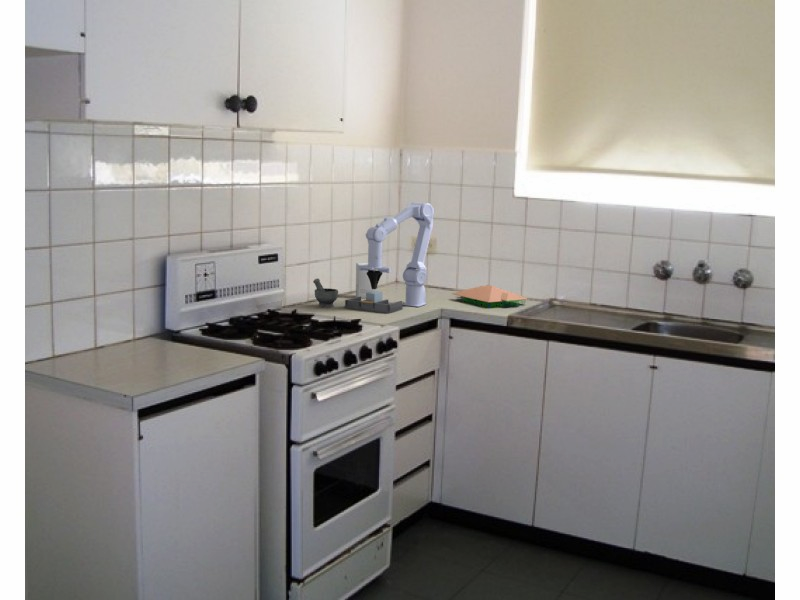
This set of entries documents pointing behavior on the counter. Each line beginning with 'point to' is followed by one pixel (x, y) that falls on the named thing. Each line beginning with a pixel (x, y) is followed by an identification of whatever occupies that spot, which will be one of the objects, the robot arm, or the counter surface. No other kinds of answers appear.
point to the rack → (373, 305)
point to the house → (490, 295)
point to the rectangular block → (374, 296)
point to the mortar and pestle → (325, 295)
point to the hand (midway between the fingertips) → (374, 288)
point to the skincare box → (362, 282)
